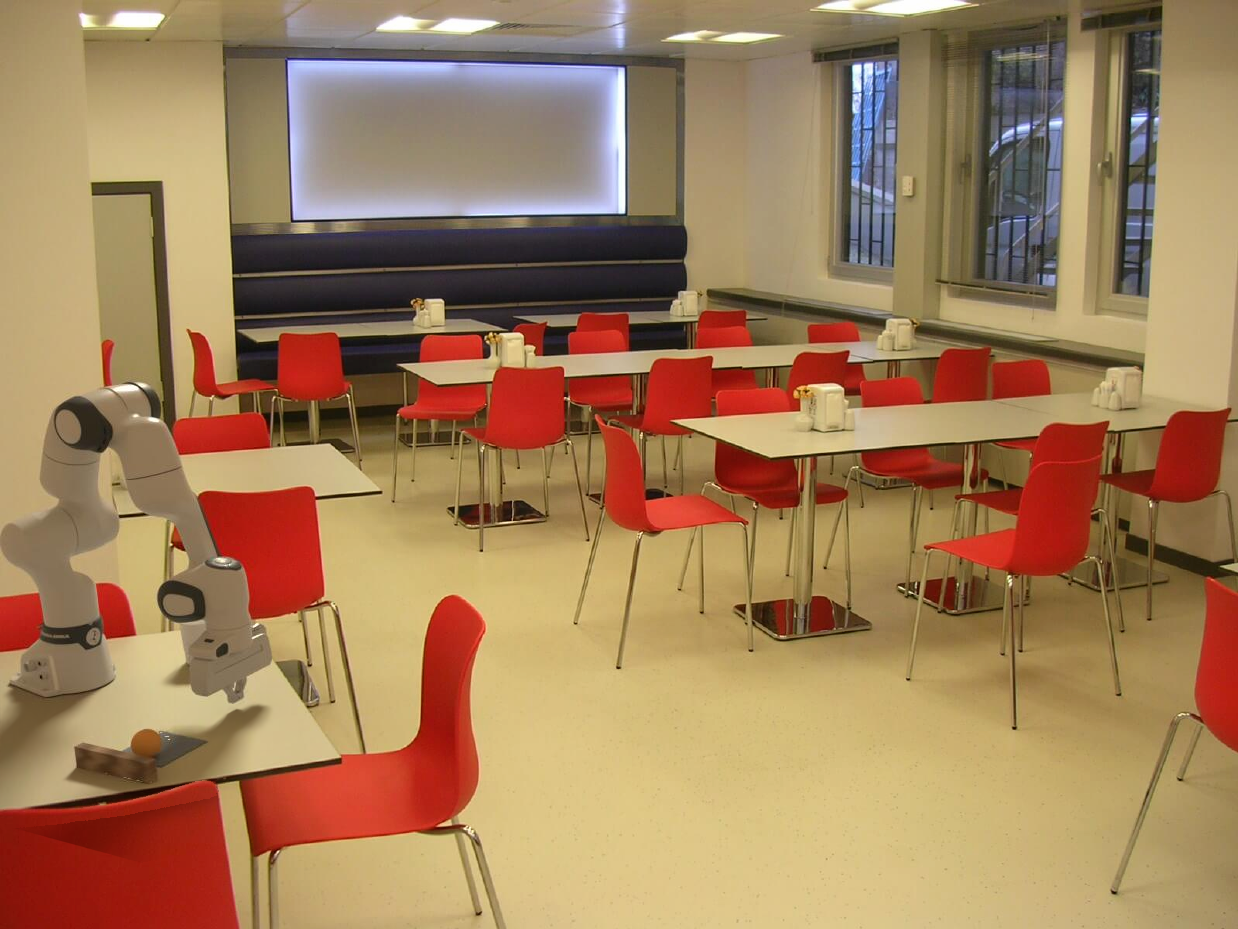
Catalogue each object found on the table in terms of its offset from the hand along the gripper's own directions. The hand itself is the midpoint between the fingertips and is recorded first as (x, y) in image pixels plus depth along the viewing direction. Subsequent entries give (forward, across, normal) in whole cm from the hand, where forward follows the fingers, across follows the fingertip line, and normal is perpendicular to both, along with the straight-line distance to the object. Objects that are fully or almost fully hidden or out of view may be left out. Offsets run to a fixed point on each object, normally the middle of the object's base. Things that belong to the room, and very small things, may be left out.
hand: (235, 700), depth 270 cm
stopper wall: (+2, +32, 0) cm, 32 cm away
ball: (-1, +25, +1) cm, 25 cm away
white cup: (+2, -18, -26) cm, 32 cm away
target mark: (+2, +21, 0) cm, 21 cm away
